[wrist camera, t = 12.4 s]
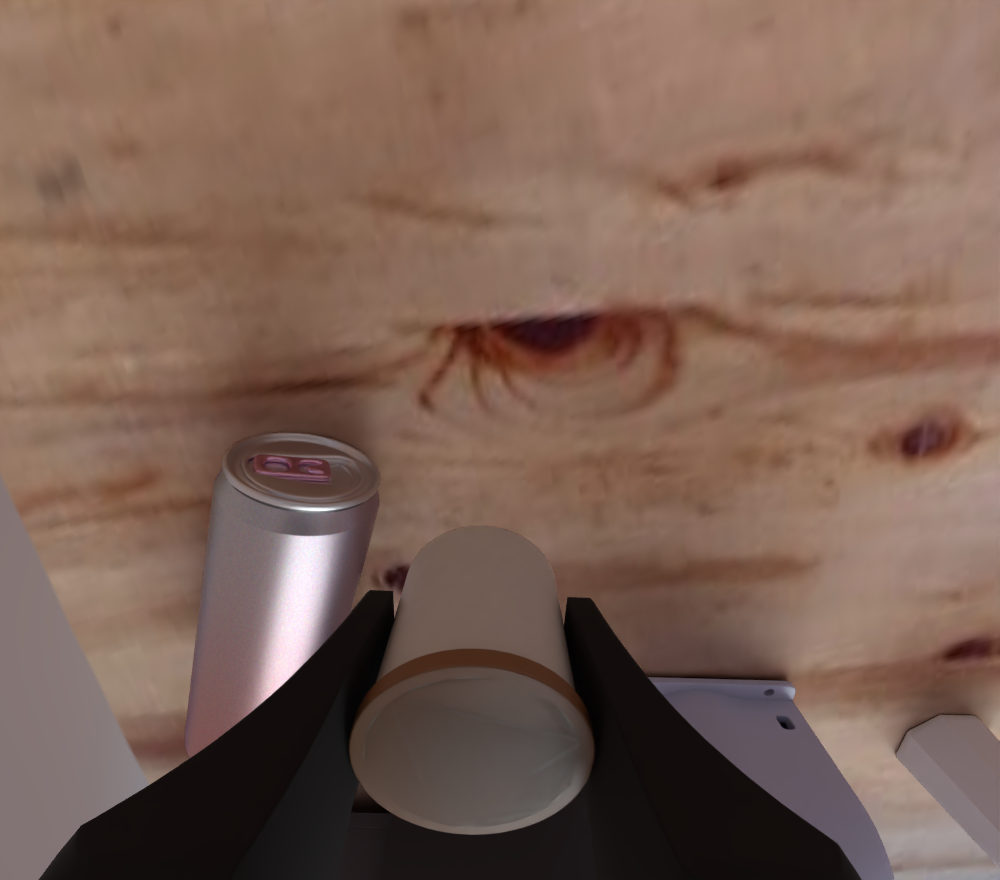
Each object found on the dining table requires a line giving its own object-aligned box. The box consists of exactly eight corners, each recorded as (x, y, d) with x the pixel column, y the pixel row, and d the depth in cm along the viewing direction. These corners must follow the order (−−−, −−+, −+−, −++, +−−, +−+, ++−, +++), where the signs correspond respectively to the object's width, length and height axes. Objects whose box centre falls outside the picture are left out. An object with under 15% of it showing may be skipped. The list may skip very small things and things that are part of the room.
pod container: (570, 521, 13) (612, 669, 8) (554, 653, 14) (581, 838, 10) (397, 514, 13) (338, 660, 8) (402, 648, 14) (355, 833, 10)
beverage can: (193, 683, 24) (224, 420, 19) (316, 668, 27) (372, 438, 21) (172, 810, 19) (206, 503, 14) (324, 775, 22) (400, 511, 17)
